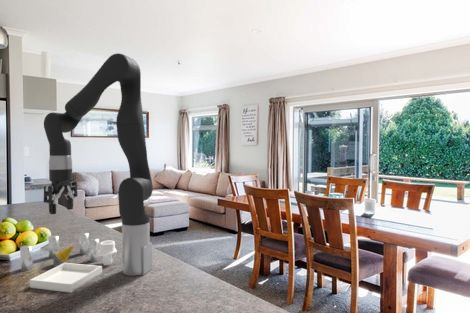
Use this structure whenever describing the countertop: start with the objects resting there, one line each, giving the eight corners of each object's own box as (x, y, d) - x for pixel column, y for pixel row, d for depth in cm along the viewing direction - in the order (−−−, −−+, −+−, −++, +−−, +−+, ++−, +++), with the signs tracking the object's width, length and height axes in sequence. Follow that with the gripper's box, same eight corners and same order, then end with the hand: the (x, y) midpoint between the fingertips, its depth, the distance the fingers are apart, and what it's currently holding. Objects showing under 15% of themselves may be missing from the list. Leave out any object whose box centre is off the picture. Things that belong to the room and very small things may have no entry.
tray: (102, 273, 114) (102, 266, 114) (71, 292, 100) (71, 284, 99) (64, 269, 117) (64, 262, 117) (29, 287, 103) (29, 279, 103)
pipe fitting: (94, 264, 122) (93, 243, 122) (111, 259, 128) (111, 238, 128) (103, 268, 118) (103, 246, 118) (121, 262, 124) (120, 241, 124)
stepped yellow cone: (54, 263, 125) (75, 243, 127) (60, 272, 122) (81, 251, 124) (44, 259, 120) (66, 238, 123) (50, 268, 117) (72, 246, 120)
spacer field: (110, 253, 134) (110, 234, 134) (71, 275, 112) (71, 252, 111) (64, 249, 139) (64, 231, 138) (18, 270, 116) (17, 248, 116)
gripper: (55, 169, 113) (56, 216, 114) (82, 166, 127) (83, 208, 128) (36, 169, 115) (37, 215, 116) (65, 166, 129) (66, 207, 130)
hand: (61, 211), depth 122 cm, fingers open, 8 cm apart
